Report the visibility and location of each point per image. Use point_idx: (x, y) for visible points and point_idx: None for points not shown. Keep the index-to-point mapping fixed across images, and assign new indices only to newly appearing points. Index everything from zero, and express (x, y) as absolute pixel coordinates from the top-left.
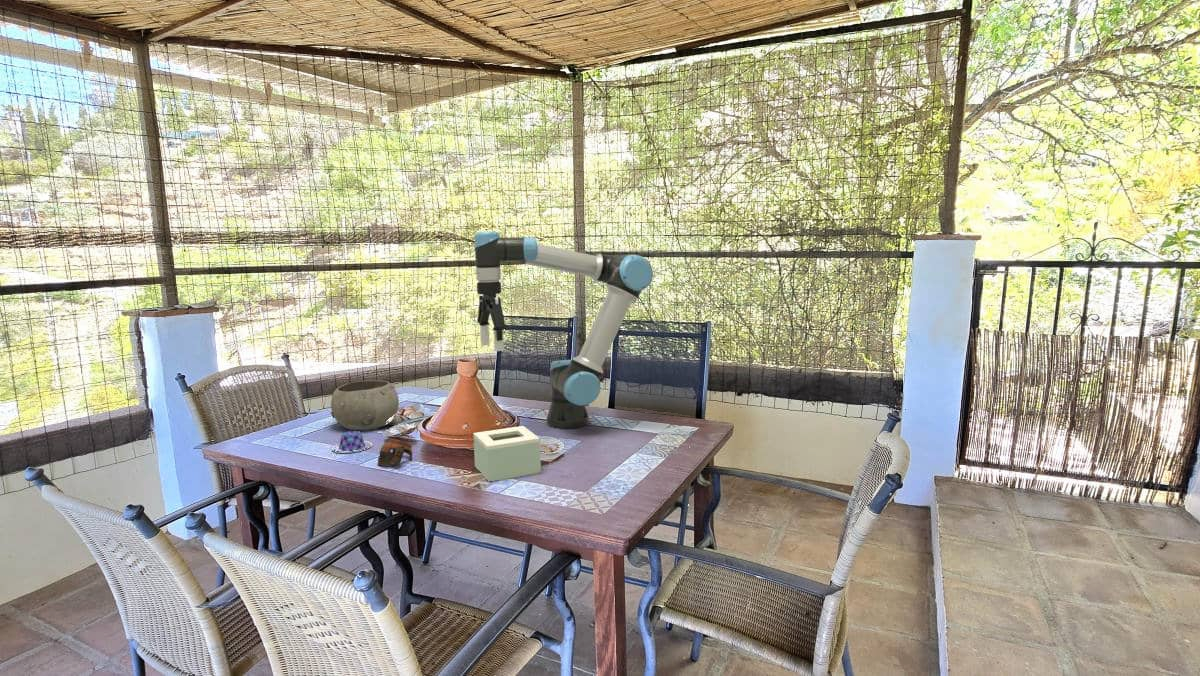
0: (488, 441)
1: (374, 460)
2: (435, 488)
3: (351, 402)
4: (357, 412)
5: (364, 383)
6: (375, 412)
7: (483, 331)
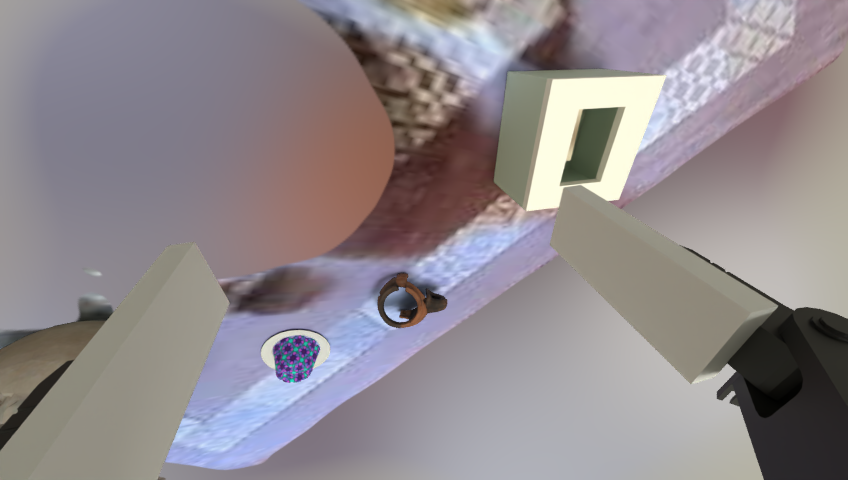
0: (596, 192)
1: (380, 317)
2: (541, 243)
3: None
4: None
5: None
6: None
7: (154, 426)
